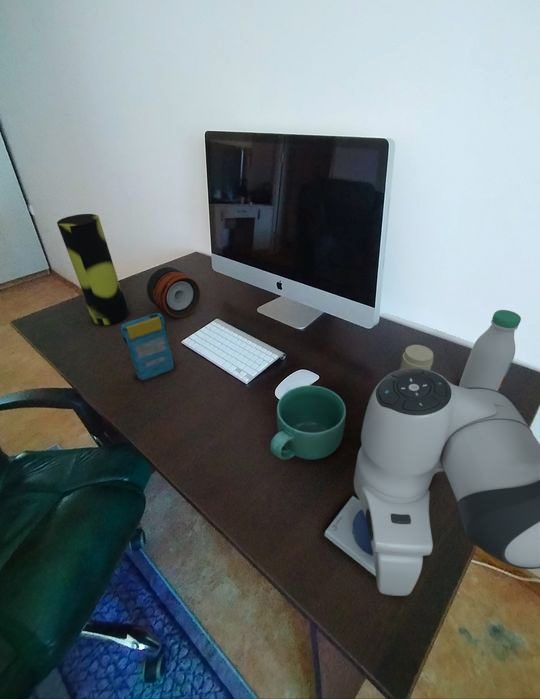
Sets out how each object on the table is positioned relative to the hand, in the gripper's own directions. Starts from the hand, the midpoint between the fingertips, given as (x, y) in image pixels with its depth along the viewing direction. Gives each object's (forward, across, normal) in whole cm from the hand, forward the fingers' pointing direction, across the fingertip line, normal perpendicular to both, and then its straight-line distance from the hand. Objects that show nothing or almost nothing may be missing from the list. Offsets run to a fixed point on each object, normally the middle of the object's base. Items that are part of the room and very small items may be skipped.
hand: (375, 534), depth 55 cm
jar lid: (-2, 0, 0) cm, 2 cm away
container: (+3, -65, -71) cm, 96 cm away
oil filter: (+3, -70, -52) cm, 87 cm away
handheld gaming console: (+3, -39, -48) cm, 62 cm away
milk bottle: (+3, -36, +28) cm, 45 cm away
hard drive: (+3, 0, 0) cm, 3 cm away
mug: (+3, -18, -11) cm, 21 cm away
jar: (+3, -36, +13) cm, 38 cm away
